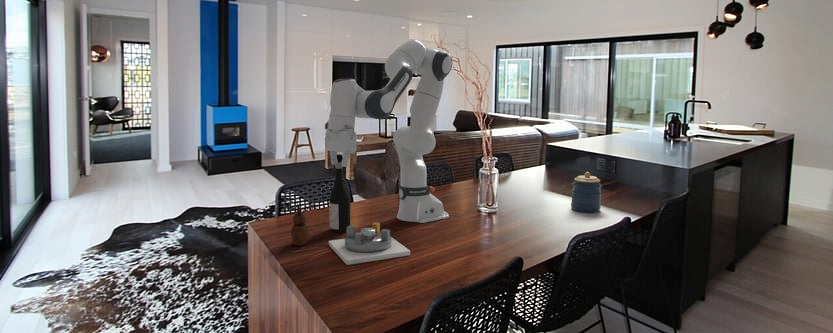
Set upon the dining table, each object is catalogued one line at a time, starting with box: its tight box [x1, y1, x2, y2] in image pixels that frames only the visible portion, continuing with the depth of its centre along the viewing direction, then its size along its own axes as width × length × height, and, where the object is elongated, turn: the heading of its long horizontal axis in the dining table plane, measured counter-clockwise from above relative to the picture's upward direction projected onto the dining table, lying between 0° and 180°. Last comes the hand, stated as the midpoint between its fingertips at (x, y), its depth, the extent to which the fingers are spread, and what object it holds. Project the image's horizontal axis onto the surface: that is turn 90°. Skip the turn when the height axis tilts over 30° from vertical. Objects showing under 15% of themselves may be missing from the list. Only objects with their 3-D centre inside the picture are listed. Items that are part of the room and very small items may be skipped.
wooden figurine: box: [290, 202, 309, 247], centre depth 176 cm, size 7×6×15 cm
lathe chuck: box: [344, 221, 392, 253], centre depth 170 cm, size 16×16×6 cm
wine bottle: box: [328, 153, 351, 233], centre depth 192 cm, size 8×8×30 cm
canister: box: [570, 171, 603, 214], centre depth 226 cm, size 13×13×18 cm
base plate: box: [328, 236, 411, 266], centre depth 171 cm, size 22×22×2 cm
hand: (339, 165), depth 171 cm, fingers open, 8 cm apart
